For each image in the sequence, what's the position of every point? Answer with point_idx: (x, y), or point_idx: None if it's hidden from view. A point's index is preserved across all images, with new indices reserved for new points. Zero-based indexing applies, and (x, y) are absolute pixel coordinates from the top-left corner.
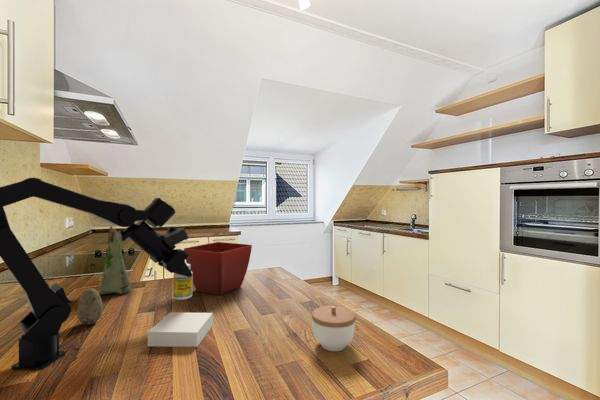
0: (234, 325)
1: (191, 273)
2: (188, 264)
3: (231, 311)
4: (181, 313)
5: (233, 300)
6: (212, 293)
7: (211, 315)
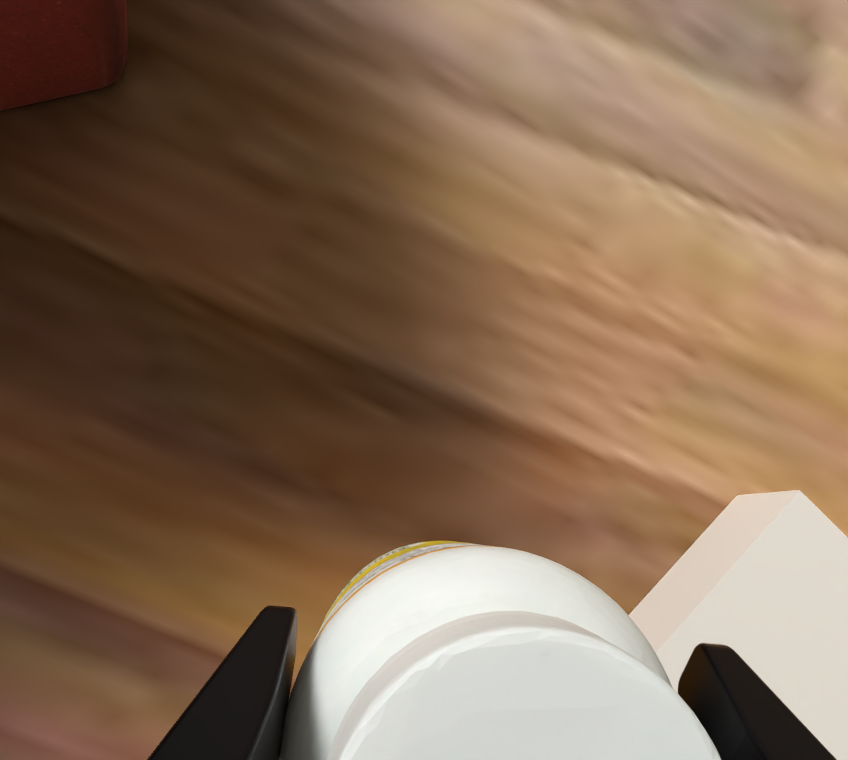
0: (844, 369)
1: (756, 683)
2: (588, 698)
3: (574, 229)
4: None
5: (347, 70)
6: (23, 104)
7: (822, 520)
